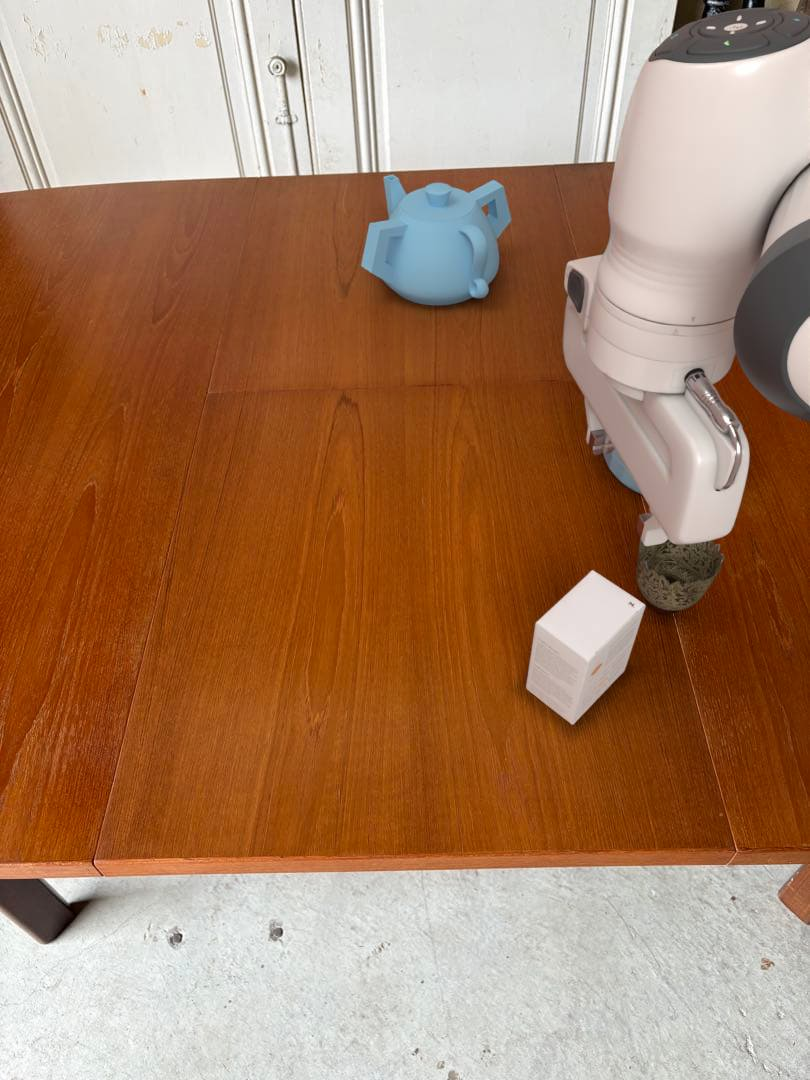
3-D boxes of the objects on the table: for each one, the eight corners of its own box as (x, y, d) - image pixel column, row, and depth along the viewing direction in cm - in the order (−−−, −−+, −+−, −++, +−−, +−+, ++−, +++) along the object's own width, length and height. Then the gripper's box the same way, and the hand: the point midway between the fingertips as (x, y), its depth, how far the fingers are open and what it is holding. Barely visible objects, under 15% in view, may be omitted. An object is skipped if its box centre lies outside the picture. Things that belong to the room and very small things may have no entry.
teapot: (509, 253, 125) (515, 162, 115) (489, 323, 113) (494, 228, 103) (389, 242, 129) (384, 153, 118) (356, 309, 116) (348, 216, 106)
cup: (670, 647, 77) (690, 595, 71) (609, 601, 80) (623, 548, 74) (717, 604, 80) (740, 551, 74) (655, 562, 84) (673, 508, 78)
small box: (577, 637, 78) (593, 566, 70) (626, 672, 75) (648, 603, 67) (522, 689, 74) (533, 621, 66) (572, 728, 71) (589, 661, 63)
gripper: (804, 428, 42) (732, 592, 53) (644, 238, 56) (611, 399, 66) (691, 448, 41) (640, 610, 52) (556, 251, 55) (537, 411, 65)
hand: (623, 490), depth 59 cm, fingers open, 8 cm apart
